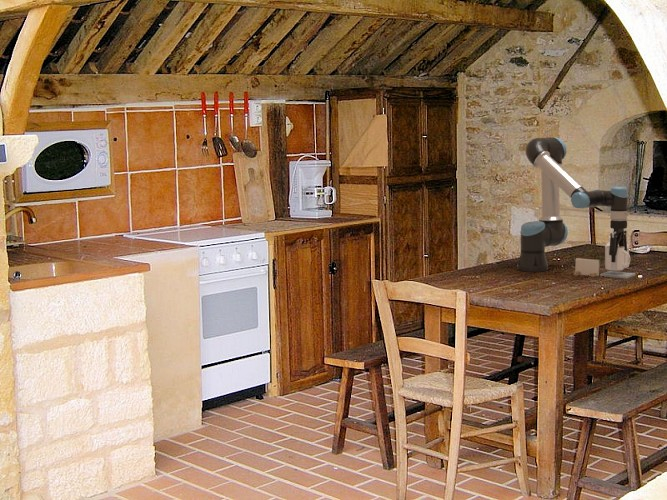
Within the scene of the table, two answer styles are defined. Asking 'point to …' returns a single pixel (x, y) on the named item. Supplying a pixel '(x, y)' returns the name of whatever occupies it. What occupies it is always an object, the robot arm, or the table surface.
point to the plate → (618, 274)
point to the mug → (619, 259)
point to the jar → (625, 254)
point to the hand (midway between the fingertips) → (617, 267)
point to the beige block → (587, 267)
